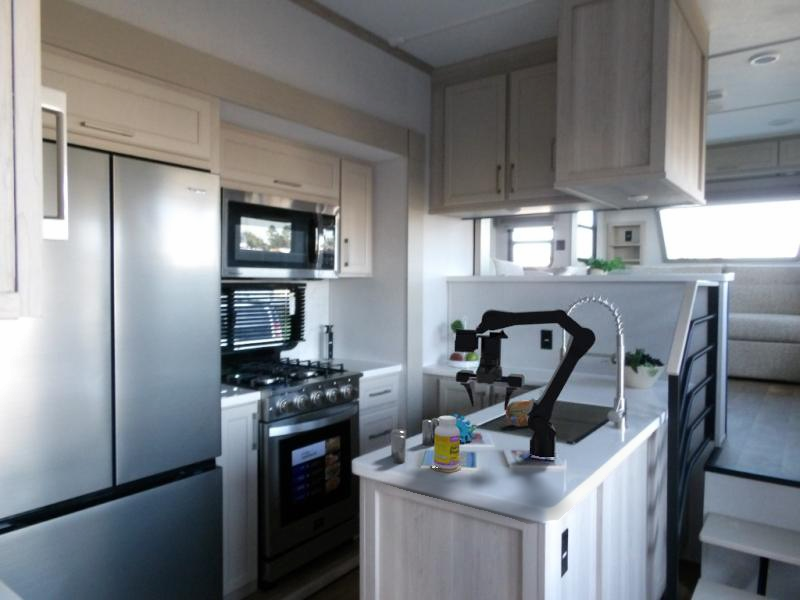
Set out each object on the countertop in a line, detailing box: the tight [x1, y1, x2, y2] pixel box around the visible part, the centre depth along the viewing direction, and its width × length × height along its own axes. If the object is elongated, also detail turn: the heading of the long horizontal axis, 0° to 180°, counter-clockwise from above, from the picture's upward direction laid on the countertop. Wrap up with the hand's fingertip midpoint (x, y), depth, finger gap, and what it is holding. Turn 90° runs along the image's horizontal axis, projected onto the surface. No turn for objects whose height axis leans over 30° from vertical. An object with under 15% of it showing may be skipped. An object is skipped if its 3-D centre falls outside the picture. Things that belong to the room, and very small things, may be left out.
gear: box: [448, 413, 477, 443], centre depth 177 cm, size 11×6×10 cm
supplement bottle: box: [433, 415, 461, 469], centre depth 151 cm, size 7×7×13 cm
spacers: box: [390, 417, 439, 464], centre depth 165 cm, size 10×24×7 cm, turn 159°
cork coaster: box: [431, 464, 462, 473], centre depth 151 cm, size 8×8×1 cm
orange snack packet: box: [505, 399, 538, 428], centre depth 196 cm, size 15×3×8 cm, turn 114°
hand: (489, 408), depth 163 cm, fingers open, 9 cm apart
